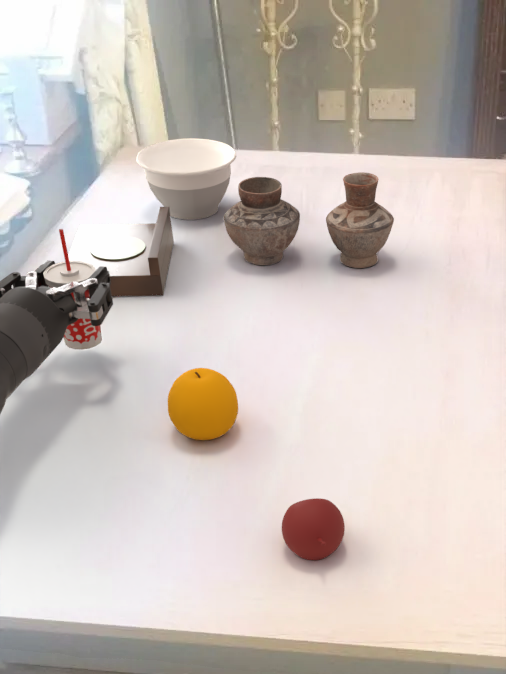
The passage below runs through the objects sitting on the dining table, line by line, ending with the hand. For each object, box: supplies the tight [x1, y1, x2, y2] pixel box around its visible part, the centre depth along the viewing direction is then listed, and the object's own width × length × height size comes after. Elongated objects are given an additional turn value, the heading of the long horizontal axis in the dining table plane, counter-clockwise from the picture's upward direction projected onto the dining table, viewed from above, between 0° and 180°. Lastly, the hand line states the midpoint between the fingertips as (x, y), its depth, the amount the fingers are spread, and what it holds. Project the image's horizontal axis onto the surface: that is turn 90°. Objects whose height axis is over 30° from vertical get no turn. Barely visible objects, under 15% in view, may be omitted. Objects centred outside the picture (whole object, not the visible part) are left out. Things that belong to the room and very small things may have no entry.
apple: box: [167, 367, 239, 441], centre depth 101 cm, size 8×8×8 cm
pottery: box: [223, 171, 395, 269], centre depth 131 cm, size 11×25×12 cm, turn 86°
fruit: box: [281, 497, 346, 561], centre depth 86 cm, size 6×6×8 cm
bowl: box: [135, 137, 237, 221], centre depth 146 cm, size 16×16×9 cm
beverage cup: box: [43, 228, 103, 351], centre depth 108 cm, size 6×6×14 cm
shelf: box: [68, 206, 175, 297], centre depth 131 cm, size 14×18×6 cm
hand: (79, 271), depth 109 cm, fingers closed on beverage cup, 6 cm apart
